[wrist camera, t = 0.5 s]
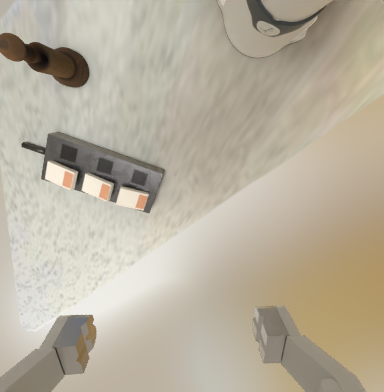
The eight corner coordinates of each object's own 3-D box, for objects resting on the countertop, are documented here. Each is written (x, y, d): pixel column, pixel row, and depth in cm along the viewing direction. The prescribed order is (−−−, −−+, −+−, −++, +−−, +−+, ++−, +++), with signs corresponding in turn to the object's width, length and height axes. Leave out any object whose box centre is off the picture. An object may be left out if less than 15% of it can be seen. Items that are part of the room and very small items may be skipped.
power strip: (29, 121, 47) (13, 122, 43) (164, 169, 52) (162, 175, 48) (23, 164, 50) (8, 170, 46) (151, 206, 55) (148, 214, 51)
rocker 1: (52, 160, 46) (47, 161, 45) (78, 171, 46) (73, 172, 44) (49, 177, 47) (44, 179, 46) (74, 188, 47) (70, 190, 46)
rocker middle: (88, 172, 47) (84, 173, 46) (114, 183, 47) (111, 185, 46) (85, 189, 48) (81, 190, 47) (109, 200, 48) (106, 202, 47)
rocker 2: (120, 185, 47) (120, 188, 46) (148, 192, 49) (148, 195, 48) (116, 202, 48) (115, 205, 47) (143, 208, 51) (143, 210, 49)
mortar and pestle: (56, 85, 45) (-19, 71, 28) (52, 48, 42) (-33, 8, 26) (90, 89, 45) (36, 77, 29) (88, 52, 43) (28, 15, 26)
